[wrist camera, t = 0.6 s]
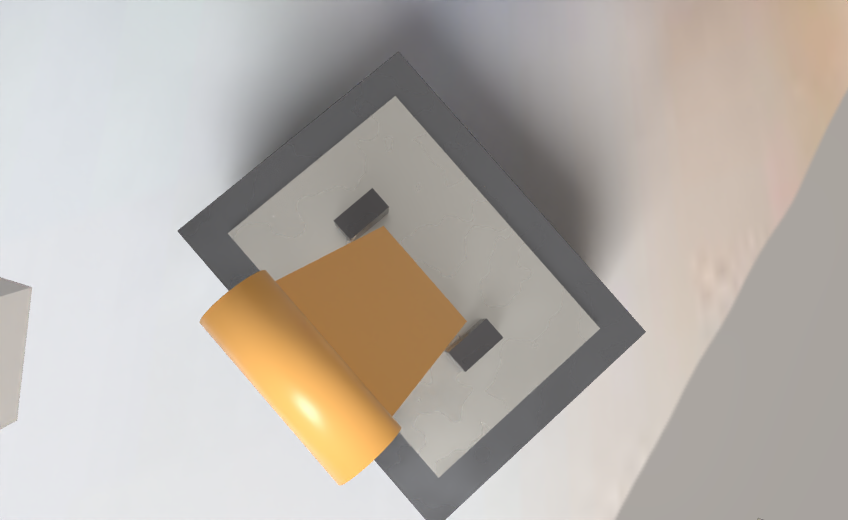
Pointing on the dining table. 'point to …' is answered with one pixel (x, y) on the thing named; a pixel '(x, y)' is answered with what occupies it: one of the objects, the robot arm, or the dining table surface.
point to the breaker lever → (338, 345)
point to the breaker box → (431, 273)
